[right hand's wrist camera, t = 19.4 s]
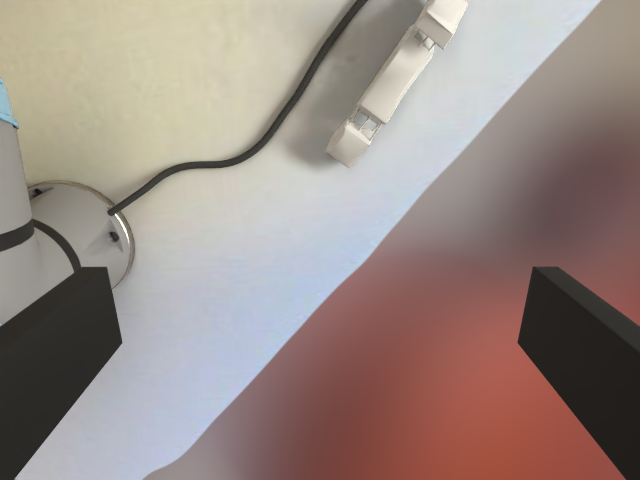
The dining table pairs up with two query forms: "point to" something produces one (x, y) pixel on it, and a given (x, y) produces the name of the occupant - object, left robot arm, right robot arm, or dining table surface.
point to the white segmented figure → (397, 77)
